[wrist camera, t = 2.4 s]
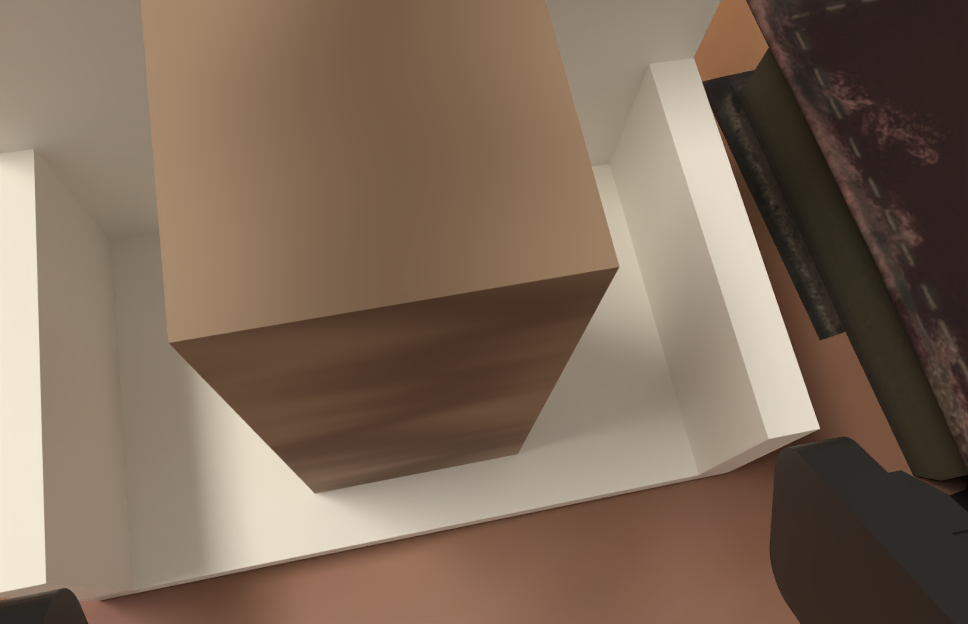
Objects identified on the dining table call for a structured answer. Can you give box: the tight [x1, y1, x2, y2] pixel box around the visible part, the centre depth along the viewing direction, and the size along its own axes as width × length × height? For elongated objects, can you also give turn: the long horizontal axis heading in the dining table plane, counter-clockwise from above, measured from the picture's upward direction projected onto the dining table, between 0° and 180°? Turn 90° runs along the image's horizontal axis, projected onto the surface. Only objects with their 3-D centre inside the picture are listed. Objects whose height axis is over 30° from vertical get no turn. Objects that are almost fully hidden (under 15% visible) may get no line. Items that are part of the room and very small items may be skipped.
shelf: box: [0, 0, 820, 601], centre depth 19 cm, size 17×11×12 cm, turn 101°
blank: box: [140, 0, 619, 494], centre depth 17 cm, size 6×5×13 cm
